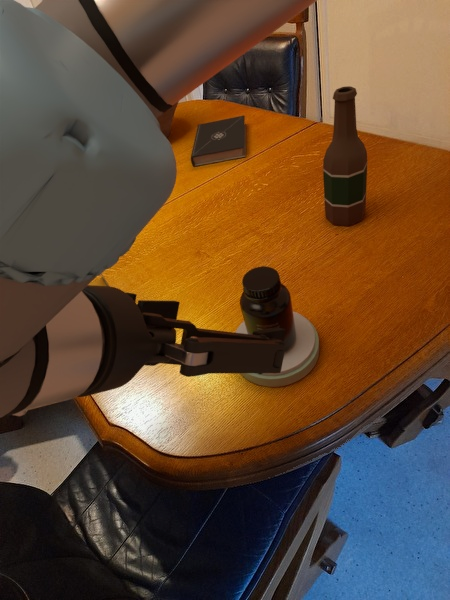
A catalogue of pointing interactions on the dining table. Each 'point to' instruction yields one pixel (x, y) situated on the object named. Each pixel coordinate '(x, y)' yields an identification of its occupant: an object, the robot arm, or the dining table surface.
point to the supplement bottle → (267, 303)
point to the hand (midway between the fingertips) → (224, 325)
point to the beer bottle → (345, 164)
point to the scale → (291, 356)
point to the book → (219, 141)
